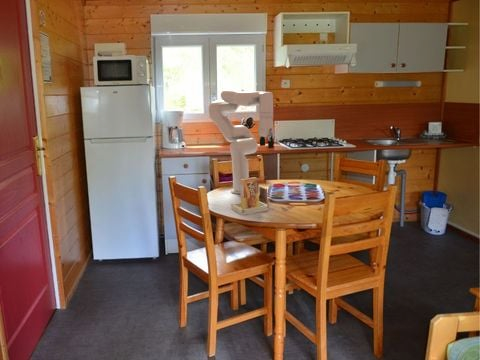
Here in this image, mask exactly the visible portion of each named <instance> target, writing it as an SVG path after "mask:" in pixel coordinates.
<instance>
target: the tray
mask: <svg viewBox="0 0 480 360" xmlns="http://www.w3.org/2000/svg"><path fill="white" fill-rule="evenodd" d="M230 206H231V207H230V208H231V210H232V211H234V212H236V213H238V214H240V215H241V216H246V215H251V214H255V213H256V214H257V213H261V212H266V211H270V207H269V204H266V202H263V203H262V202H260V201H259V207H253V208H248V209H243V208H241V202H236V203H231V204H230Z"/></svg>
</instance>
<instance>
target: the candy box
mask: <svg viewBox="0 0 480 360" xmlns="http://www.w3.org/2000/svg"><path fill="white" fill-rule="evenodd" d="M259 187H260V186H259V178H258V177H255V176H253V177H249V178H246V179H240V192H241V194H240V203H241V208H243V209H248V208H253V207H259Z"/></svg>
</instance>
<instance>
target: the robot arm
mask: <svg viewBox="0 0 480 360" xmlns="http://www.w3.org/2000/svg"><path fill="white" fill-rule="evenodd" d="M273 96H274V94H273V92H270V91H261V90H260V91H259V90H258V91H245V90H244V89H242V88H241V87H229V88H228V87H227V88H225V89H223V90H222V91H221V93H220V98H221V99H220V100H215V101H212V102H210V103H209V106H208V114H209V117H210V120H211V121H212V122H213V123H214V124H215V126H216V127H217V128H218V130H219V131H220V133H221V134H222V136H223V138H224V139H225V140H226V142H228V143H230V144H229V152H230V156H231V164H232V188H231V190H230V192H231V193H232V194H235V195H237V194H238V195H241V192H240V179H246V178H250V175H249V171H250V170H249V160H248V159H247V157H246V155H251V154H255V153H256V152H257V151H258V148H259V146H260V147H264V146H266V138H267V148H268V149H274V148H275V144H274V143H275V142H274V141H275V138H276V137H275V136H276V133H275V129H274V126H275V125H274V119H273V118H274V97H273ZM240 106H242V107H243V106H244V107H253V106H254V107H255V106H258V113H259V114H258V116H259V117H258V131H257V134H258V136H259V137H258V139H259V146H258V142H257V140H256V139H255V137H254V135H253V133H252V132H251V131H250V130H249V128H248V127H247V126H245V125H243V124H239V125H234V124H233V123H232V121H231V120H230V119H229V117H227V116H225V115H228V114H234V113H236V112H237V110H238V109H239V107H240Z"/></svg>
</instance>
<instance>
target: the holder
mask: <svg viewBox="0 0 480 360" xmlns="http://www.w3.org/2000/svg"><path fill="white" fill-rule="evenodd" d="M259 201H260V202H262V203H266V202H268V188H265V187H262V186H259Z"/></svg>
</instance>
